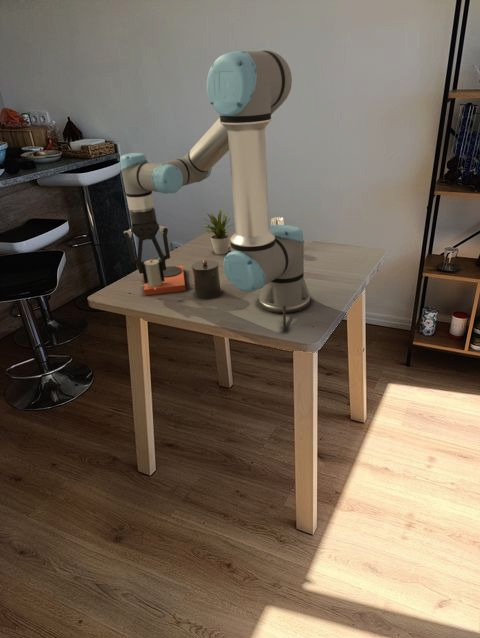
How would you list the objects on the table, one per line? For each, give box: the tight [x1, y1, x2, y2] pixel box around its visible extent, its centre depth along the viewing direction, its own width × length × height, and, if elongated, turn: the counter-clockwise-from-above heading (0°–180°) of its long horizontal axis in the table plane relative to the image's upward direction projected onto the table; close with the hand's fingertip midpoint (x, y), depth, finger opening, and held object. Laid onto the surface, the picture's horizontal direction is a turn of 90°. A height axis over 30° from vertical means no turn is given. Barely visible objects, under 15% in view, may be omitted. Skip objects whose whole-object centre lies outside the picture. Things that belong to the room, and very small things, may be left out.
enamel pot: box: [191, 259, 222, 300], centre depth 150 cm, size 8×8×11 cm
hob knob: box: [144, 258, 163, 287], centre depth 154 cm, size 5×5×8 cm
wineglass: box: [269, 216, 286, 225], centre depth 182 cm, size 6×6×12 cm
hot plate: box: [141, 264, 187, 296], centre depth 162 cm, size 19×14×2 cm
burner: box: [163, 265, 182, 277], centre depth 165 cm, size 9×9×1 cm
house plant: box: [201, 208, 232, 255], centre depth 183 cm, size 14×14×16 cm
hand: (154, 280), depth 156 cm, fingers closed on hob knob, 5 cm apart
